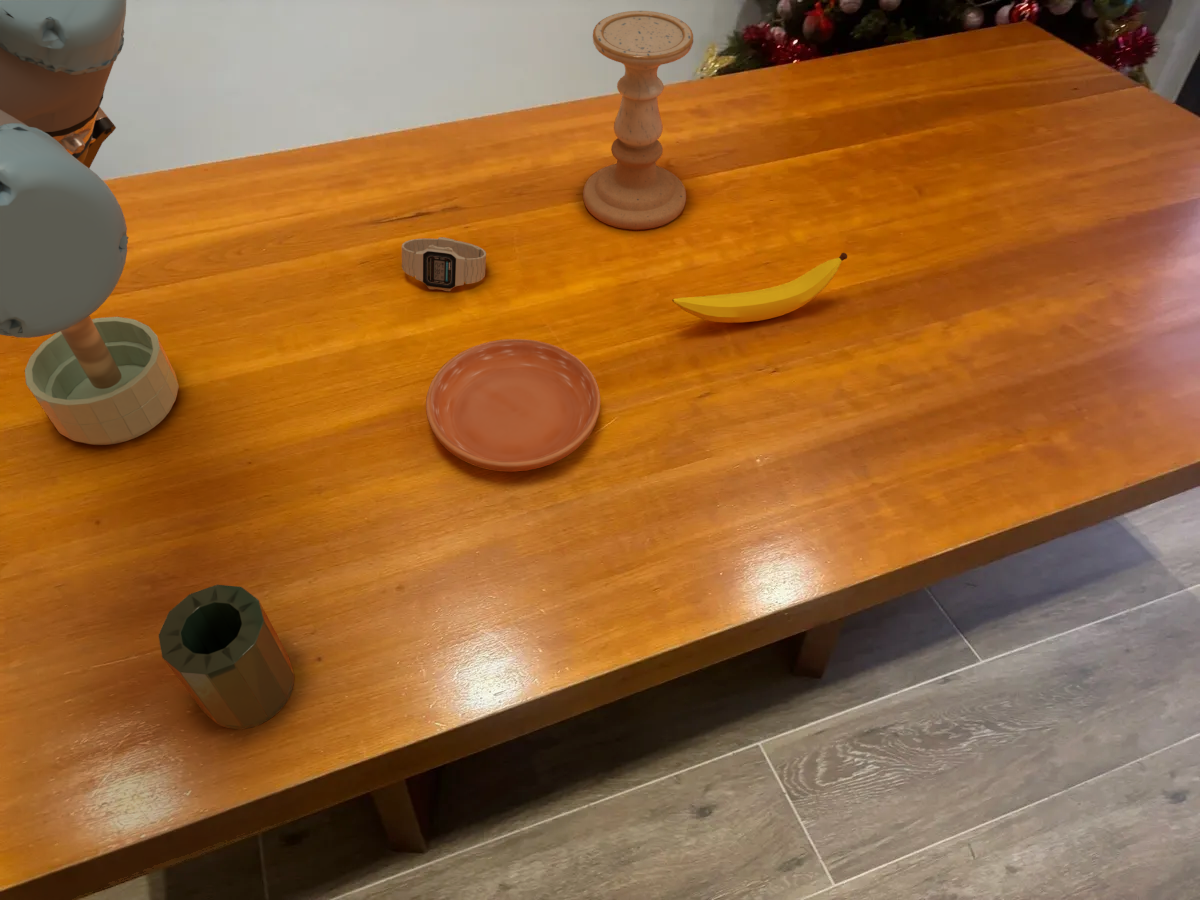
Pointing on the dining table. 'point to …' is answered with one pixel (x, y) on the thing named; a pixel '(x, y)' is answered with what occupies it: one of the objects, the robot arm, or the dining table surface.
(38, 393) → the bowl
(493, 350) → the saucer
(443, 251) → the wristwatch
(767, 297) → the banana
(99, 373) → the stick
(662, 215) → the candle holder
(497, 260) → the dining table surface
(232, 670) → the holder
